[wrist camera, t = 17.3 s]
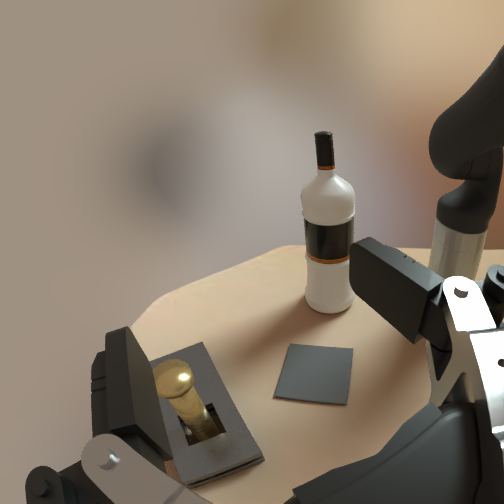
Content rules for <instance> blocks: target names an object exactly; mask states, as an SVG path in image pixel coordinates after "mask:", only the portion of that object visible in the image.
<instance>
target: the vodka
mask: <svg viewBox="0 0 504 504" xmlns="http://www.w3.org/2000/svg"><path fill="white" fill-rule="evenodd" d="M314 135H315V144H316V154H317V166H318V176H316V177H315V178H314V179H312V180H311V181H310V182H309V183H307V184H306V185H305V186H304V188H303V189H302V193H301V203H302V208H303V210H302V214H303V217H304V227H305V239H306V254H305V258H306V260H307V285H306V288H305V298H306V301H307V303H308V304H309V306H310V307H311V308H312V309H314V310H316V311H318V312H321V313H327V314H332V313H338V312H342V311H344V310H346V309H347V308H348V307H349V306H350V305H351V304H352V303H353V301H354V299H355V293H354V291H353V290H352V288H351V286H350V283H349V249H350V246H351V244H352V243H354V215H355V208H354V207H355V193H354V190H353V188H352V186H351V185H350V184H349V183H348V182H346V181H345V180H343V179H342V178H340V177H338V176H337V175H336V174H335V163H334V149H333V140H332V133H331V132H326V131H321V132H317V133H315V134H314Z"/></svg>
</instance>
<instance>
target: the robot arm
mask: <svg viewBox="0 0 504 504" xmlns="http://www.w3.org/2000/svg"><path fill="white" fill-rule="evenodd" d="M503 147H504V45H503V47H502V48H501V49H500V51H499V52H498V54H497V55H496V57H495V58H494V60H493V61H492V63H491V64H490V66H489V67H488V68H487V69H486V70H485V72H484V73H483V74H482V75H481V76H480V77H479V78H478V80H477V81H476V82H475V83H474V84H473V85H472V87H471V88H470V89H469V90H468V91H467V92H466V93H465V94H464V95H463V96H462V97H461V98H460V99H459V100H457V101H456V102H455V103H454V104H453V105H451V106H450V107H449V108H448V109H447V110H445V112H443V113H442V114H441V115H440V116H439V117H438V118H437V120H436V121H435V123H434V125H433V127H432V130H431V133H430V137H429V154H430V158H431V160H432V163H433V165H434V167H435V168H436V169H437V170H438V171H439V172H440V173H441V174H442V175H444V176H446V177H448V178H452V179H461V180H465V181H464V183H463V184H462V185H461V186H459V187H458V188H457V189H455V190H453V191H452V192H449V193H447V194H445V195H443V196H442V197H441V198H440V199H439V201H438V205H437V213H436V222H435V229H434V237H433V243H432V249H431V255H430V260H429V265H428V268H427V267H425V266H424V265H422V264H421V263H419V262H416V261H415V260H414V259H413V258H411V257H407V255H406V254H404V253H403V252H401V251H400V250H398V249H396V248H392V247H389V246H386V245H383V244H381V243H380V242H378V241H376V240H375V239H373V238H371V237H367V238H365V239H362V240H360V241H357V242H355V243H352V244H351V246H350V249H349V283H350V286H351V288H352V290H353V291H354V293H355V294H356V295H357V296H359V297H360V298H361V299H362V300H363V301H365V302H366V303H367V304H368V305H369V306H370V307H372V308H373V309H374V310H375V311H376V312H377V313H378V314H380V315H381V316H382V317H383V318H384V319H385V320H387V321H388V322H389V323H390V324H391V325H392V326H393V327H395V328H396V329H397V330H398V331H399V332H400V333H401V334H402V335H404V336H405V337H406V338H407V339H408V340H409V341H410V342H411V343H413V344H415V343H416V342H418V341H419V340H420V339H422V338H423V337H425V338H426V339H427V341H426V345H425V347H426V353H427V359H428V365H429V372H430V379H431V396H430V400H429V403H428V404H427V405H426V406H425V407H424V408H423V409H421V410H420V411H419V412H418V413H416V414H415V415H414V416H413V417H411V418H410V419H409V420H407V421H406V422H405V423H404V424H403V425H402V426H401V428H400V429H399V430H398V431H397V432H396V434H395V435H394V436H393V437H392V438H391V439H390V441H389V442H388V443H387V444H386V445H385V446H384V447H383V449H382V450H381V451H380V452H379V453H378V454H376V455H374V456H372V457H369V458H366V459H363V460H361V461H358V462H355V463H352V464H349V465H345V466H342V467H339V468H336V469H332V470H331V471H329V472H327V473H325V474H323V475H321V476H319V477H317V478H315V479H313V480H311V481H309V482H307V483H305V484H303V485H301V486H299V487H296V488H294V489H292V490H293V494H294V496H293V497H291V498H290V499H289V500H288V501H286V502H285V503H284V504H504V323H503V322H502V320H503V318H504V266H502V265H492V266H490V267H489V268H488V270H487V274H486V277H485V280H481V281H478V282H475V283H474V280H475V277H476V274H477V270H478V267H479V263H480V259H481V255H482V251H483V247H484V243H485V238H486V234H487V229H488V224H489V221H490V219H491V217H492V215H493V213H494V211H495V208H496V203H497V198H498V193H499V187H500V182H501V176H502V169H503ZM91 380H92V383H91V391H92V394H91V403H92V404H91V408H92V431H93V438H92V439H91V440H90V441H89V442H88V443H87V444H86V445H85V447H84V449H83V451H82V456H81V460H80V461H78V462H77V463H75V464H73V465H71V466H70V467H67V468H66V469H64V470H62V471H60V472H56V471H55V470H53V469H51V468H50V467H47V466H39V467H36V468H35V469H33V470H32V471H31V472H30V474H29V475H28V477H27V480H26V485H25V491H26V501H27V504H213V503H211V502H209V501H208V500H206V499H204V498H202V497H201V496H199V495H198V494H196V493H194V492H193V491H191V490H190V489H188V488H186V487H185V486H183V485H182V484H180V483H179V482H177V481H176V480H174V479H173V478H171V477H170V476H169V475H167V472H166V469H165V465H164V461H168V460H172V459H174V457H173V454H172V450H171V447H170V443H169V440H168V436H167V432H166V428H165V424H164V420H163V416H162V412H161V407H160V403H159V398H158V394H157V389H156V384H155V379H154V374H153V371H152V368H151V365H150V363H149V361H148V359H147V357H146V355H145V354H144V352H143V350H142V349H141V347H140V345H139V343H138V342H137V340H136V338H135V337H134V335H133V333H132V331H131V330H130V328H129V327H128V326H126V327H123V328H121V329H117V330H114V331H111V332H108V333H106V338H105V351H102V352H99V353H97V355H96V357H95V360H94V362H93V364H92V370H91Z"/></svg>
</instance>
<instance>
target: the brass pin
mask: <svg viewBox="0 0 504 504" xmlns="http://www.w3.org/2000/svg"><path fill="white" fill-rule="evenodd" d="M153 374H154V379H155V384H156V389H157V394H158V396H160V397H162V398H165V399H167V400H168V401H169V402H170V404H171V405H172V407H173V408H174V409H175V411H176V412H177V413H178V415H179V416H180V417H181V419H182V420H183V421H184V423H185V424H186V425H187V426H188V428H189V429H190V430H191V432H192V433H193V434H194V435H195V437H196V438H197V439H198V440H199V441H200V442H202V441H205V440H207V439H210V438H213V437H215V436H218V435H220V431H219V429H218V427H217V426H216V424H215V422H214V421H213V419H212V418H211V416H210V414H209V413H208V411H207V409H206V407H205V406H204V404H203V402H202V401H201V399H200V397H199V395H198V394H197V392H196V390H195V388H194V386H193V383H194V375H193V372H192V370H191V369H190V367H189V365H188V364H187V363H186V362H184V361H182V360H179V359H170V360H166V361H164V362H162V363H160V364H158V365H157V366H156V367H155V368H154V369H153Z"/></svg>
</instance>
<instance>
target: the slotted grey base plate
mask: <svg viewBox="0 0 504 504" xmlns="http://www.w3.org/2000/svg"><path fill="white" fill-rule="evenodd" d="M170 359H179V360H182V361H184V362H186V363H187V364H188V365H189V367H190V369H191V370H192V372H193V375H194V383H193V386H194V388H195V390H196V392H197V394H198V395H199V397H200V399H201V401H202V402H203V404H204V406H205V407H206V409H207V411H208V413H209V414H210V416H213V415H216V414H218V416H219V418H220V420H221V422H222V424H223V426H224V428H225V430H226V432H225V433H223V434H220V435H218V436H215V437H213V438H210V439H207V440H205V441H202V442H199V443H197V444H194V445H192V442H191V440H190V437H189V435H188V432H187V429H186V427H185V426H187V425H186V424H185V423H184V421H183V420H182V419H181V417H180V416H179V415H178V413H177V412H176V411H175V409H174V408H173V407H172V405H171V404H170V402H169V401H168V400H167V399H165V398H162V397H160V396H158V398H159V403H160V407H161V412H162V416H163V420H164V424H165V428H166V432H167V436H168V440H169V443H170V447H171V450H172V454H173V457H174V459H173V461H174V464H175V467H176V470H177V472H178V475H179V477H180V480H181V483H183V484H184V485H187V487H189V488H190V489H191V488H195V487H198V486H201V485H204V484H207V483H210V482H212V481H215V480H218V479H221V478H223V477H226V476H229V475H231V474H234V473H236V472H239V471H241V470H243V469H246V468H248V467H250V466H253V465H255V464H257V463H260V462H262V461H264V460H265V459H264V457H263V454H262V452H261V450H260V448H259V447H258V445H257V443H256V442H255V440H254V438H253V437H252V435H251V433H250V431H249V430H248V428H247V426H246V424H245V423H244V421H243V419H242V417H241V415H240V414H239V412H238V410H237V408H236V406H235V404H234V403H233V401H232V399H231V397H230V395H229V393H228V391H227V390H226V388H225V386H224V384H223V382H222V380H221V378H220V376H219V374H218V372H217V370H216V368H215V366H214V364H213V362H212V360H211V358H210V356H209V354H208V352H207V350H206V348H205V346H204V344H203V342H200V343H197V344H195V345H192V346H189V347H187V348H184V349H182V350H179V351H177V352H174V353H171V354H169V355H166V356H163V357H161V358H158V359H155V360H152V361H150V362H149V363H150V365H151V368H152V371H153V369H154V368H155V367H156V366H157V365H158V364H160V363H162V362H164V361H166V360H170Z"/></svg>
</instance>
